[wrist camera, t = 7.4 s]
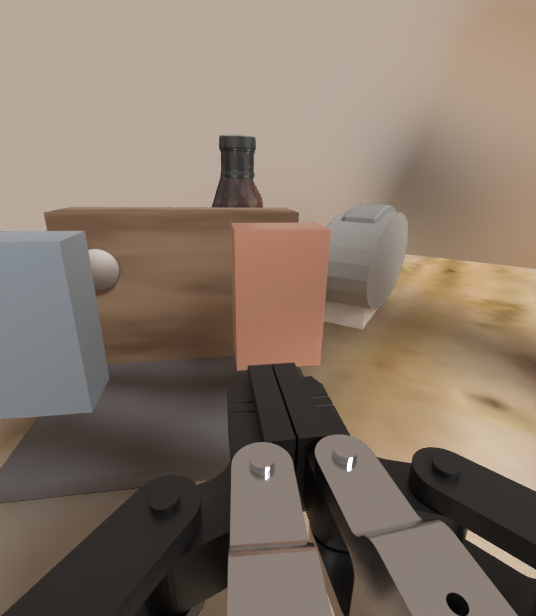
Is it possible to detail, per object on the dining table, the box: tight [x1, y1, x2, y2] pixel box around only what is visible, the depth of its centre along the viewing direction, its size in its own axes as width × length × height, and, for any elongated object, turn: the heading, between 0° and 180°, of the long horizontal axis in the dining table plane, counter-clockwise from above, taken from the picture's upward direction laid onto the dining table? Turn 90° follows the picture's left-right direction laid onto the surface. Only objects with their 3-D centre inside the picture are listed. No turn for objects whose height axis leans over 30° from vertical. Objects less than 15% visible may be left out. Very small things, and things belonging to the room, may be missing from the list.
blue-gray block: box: [0, 231, 109, 420], centre depth 17 cm, size 6×5×8 cm
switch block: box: [0, 207, 304, 503], centre depth 24 cm, size 17×18×13 cm
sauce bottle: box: [212, 135, 263, 208], centre depth 43 cm, size 7×6×20 cm
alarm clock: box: [324, 204, 408, 329], centre depth 44 cm, size 23×6×13 cm, turn 151°
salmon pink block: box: [231, 223, 331, 371], centre depth 22 cm, size 6×5×8 cm
